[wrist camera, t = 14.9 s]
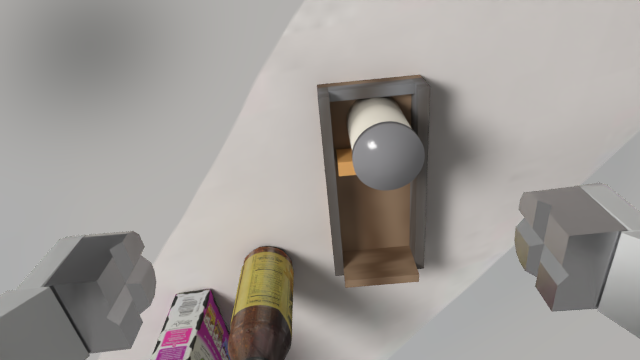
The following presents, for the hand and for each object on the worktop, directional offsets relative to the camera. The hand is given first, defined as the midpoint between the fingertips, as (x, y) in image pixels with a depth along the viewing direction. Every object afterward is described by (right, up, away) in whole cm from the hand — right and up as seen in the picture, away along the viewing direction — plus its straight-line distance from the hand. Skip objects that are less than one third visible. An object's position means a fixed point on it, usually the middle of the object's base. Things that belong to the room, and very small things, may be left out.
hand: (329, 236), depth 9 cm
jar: (+5, +7, +33) cm, 34 cm away
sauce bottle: (-6, -9, +43) cm, 44 cm away
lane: (+6, +2, +37) cm, 37 cm away
